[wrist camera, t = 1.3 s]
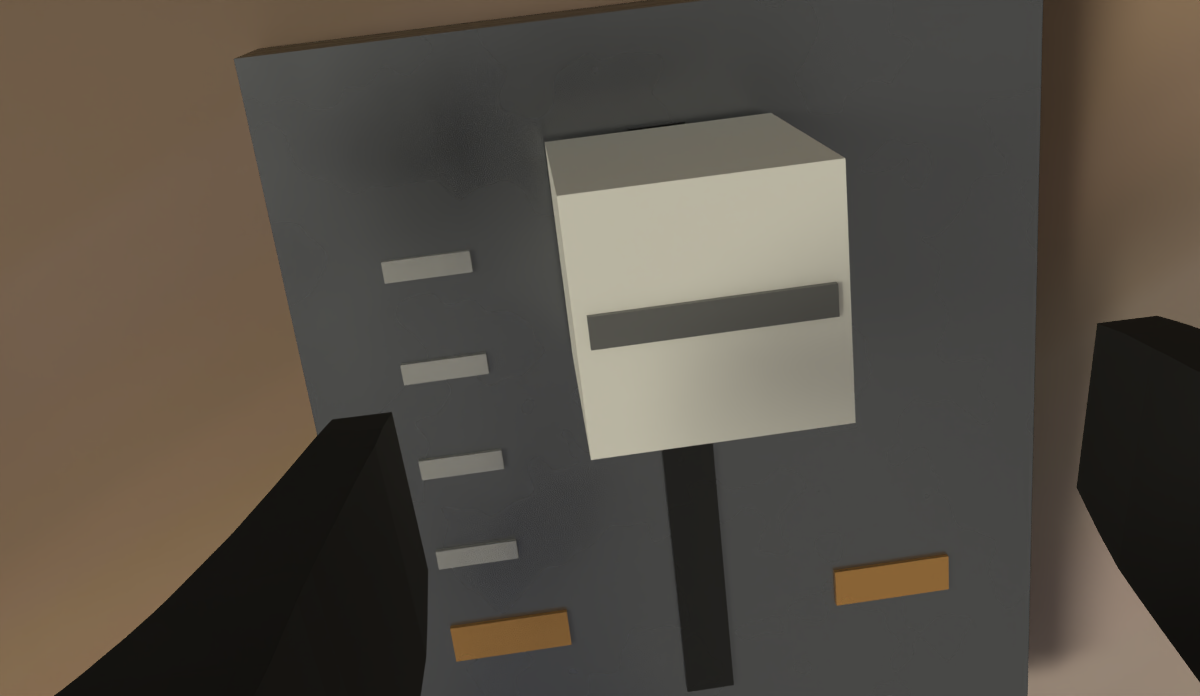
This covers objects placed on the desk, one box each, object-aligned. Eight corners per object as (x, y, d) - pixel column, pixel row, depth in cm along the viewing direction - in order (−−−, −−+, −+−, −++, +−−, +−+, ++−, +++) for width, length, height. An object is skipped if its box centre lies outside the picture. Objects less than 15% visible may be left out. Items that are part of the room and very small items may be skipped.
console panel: (989, 659, 27) (1028, 716, 25) (407, 747, 26) (399, 812, 24) (995, -44, 21) (1046, -43, 19) (257, 48, 21) (232, 59, 19)
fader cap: (783, 327, 21) (858, 425, 17) (572, 356, 21) (591, 462, 16) (770, 112, 20) (847, 159, 15) (544, 141, 19) (557, 197, 15)
